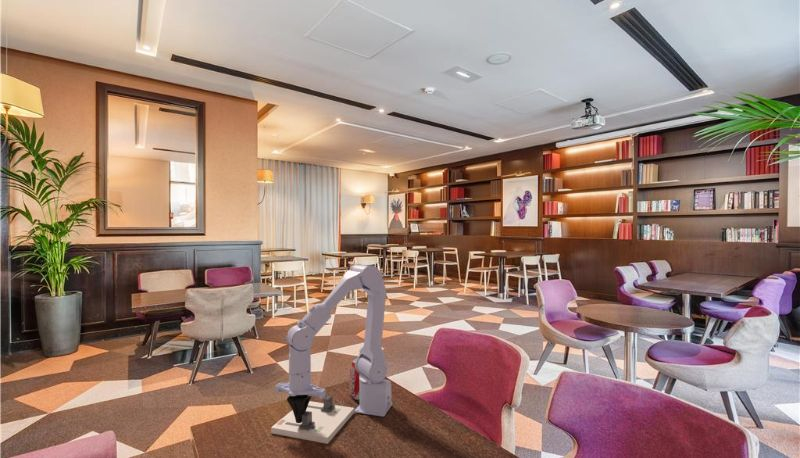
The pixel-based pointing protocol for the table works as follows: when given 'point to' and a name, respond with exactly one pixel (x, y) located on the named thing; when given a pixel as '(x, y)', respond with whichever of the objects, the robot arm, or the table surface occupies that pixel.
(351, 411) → the breaker panel
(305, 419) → the breaker
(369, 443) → the table surface
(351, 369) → the soda can
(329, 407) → the block
